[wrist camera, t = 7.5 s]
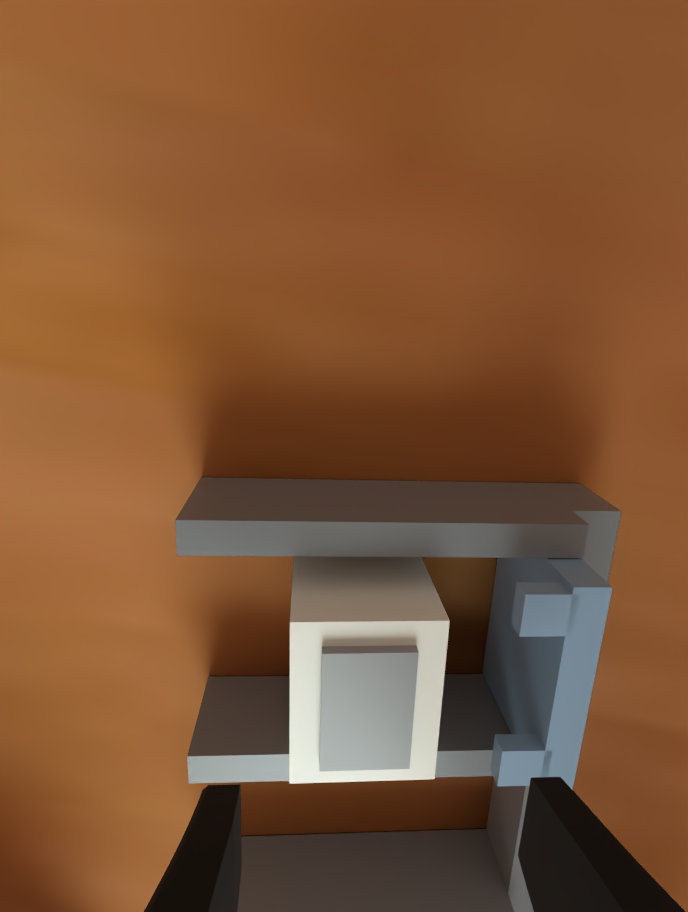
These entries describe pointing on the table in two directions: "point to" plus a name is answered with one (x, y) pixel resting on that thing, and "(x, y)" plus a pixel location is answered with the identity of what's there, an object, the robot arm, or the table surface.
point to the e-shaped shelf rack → (464, 695)
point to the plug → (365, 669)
